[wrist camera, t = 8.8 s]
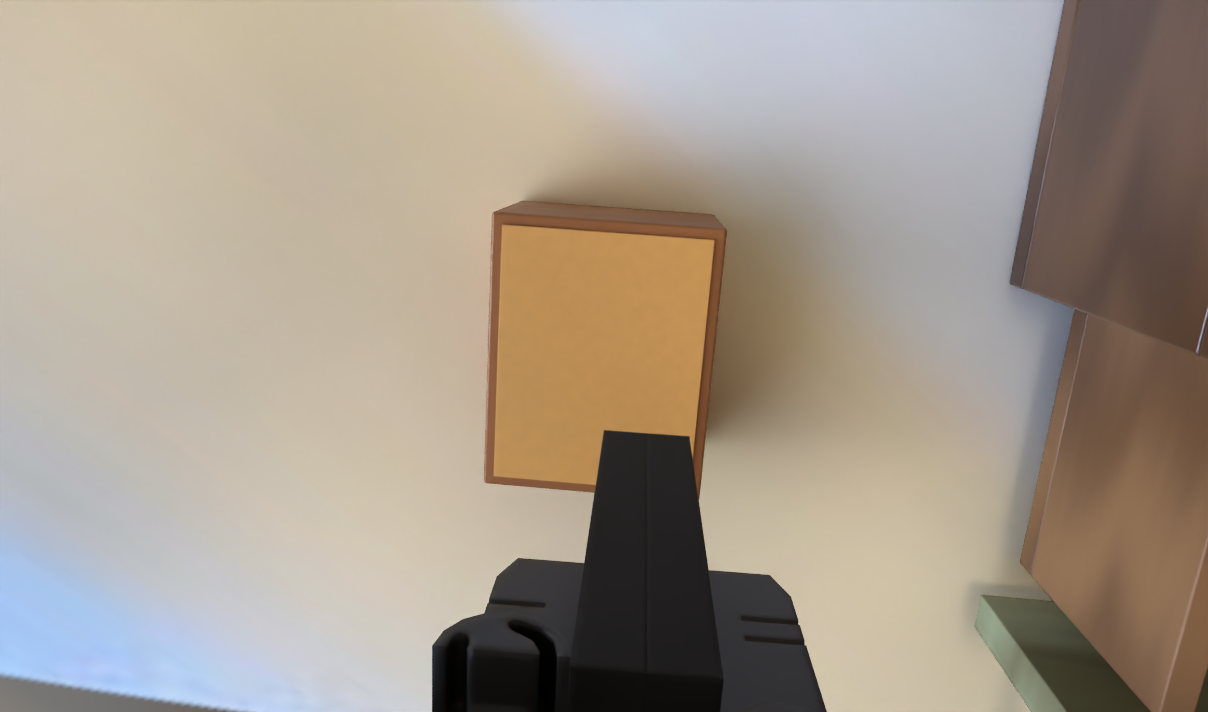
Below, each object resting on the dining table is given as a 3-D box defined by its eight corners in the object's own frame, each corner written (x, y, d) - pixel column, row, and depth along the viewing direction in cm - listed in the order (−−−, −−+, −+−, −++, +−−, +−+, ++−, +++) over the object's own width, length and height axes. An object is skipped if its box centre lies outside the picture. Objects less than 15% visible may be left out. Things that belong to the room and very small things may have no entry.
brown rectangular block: (692, 444, 27) (699, 504, 22) (511, 429, 27) (482, 485, 22) (715, 214, 25) (727, 229, 20) (520, 200, 25) (490, 211, 21)
